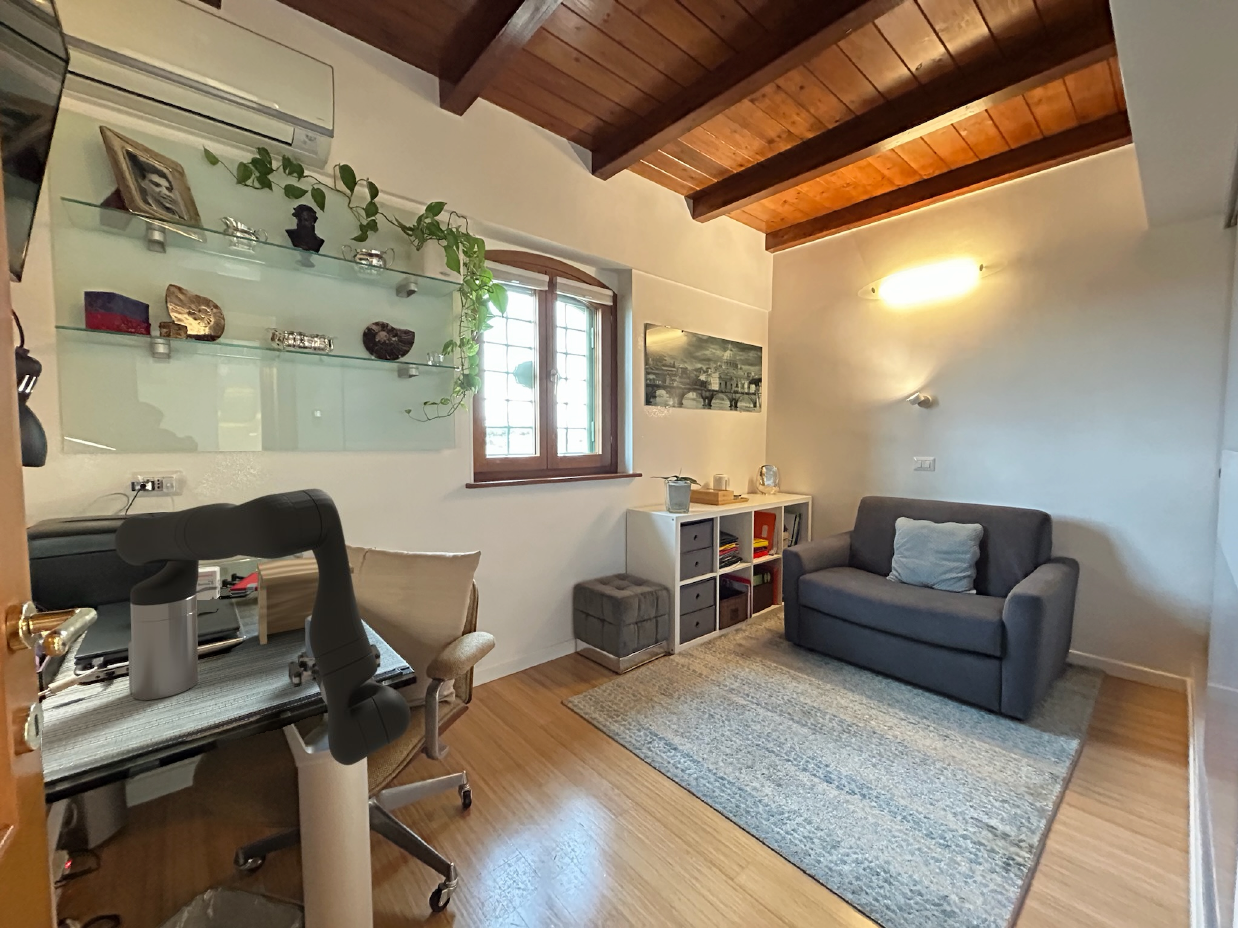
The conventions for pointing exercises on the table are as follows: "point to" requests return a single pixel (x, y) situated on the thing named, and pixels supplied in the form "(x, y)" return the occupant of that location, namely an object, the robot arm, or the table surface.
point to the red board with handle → (242, 584)
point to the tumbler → (307, 640)
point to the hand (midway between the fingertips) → (329, 651)
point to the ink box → (208, 583)
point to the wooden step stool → (286, 594)
